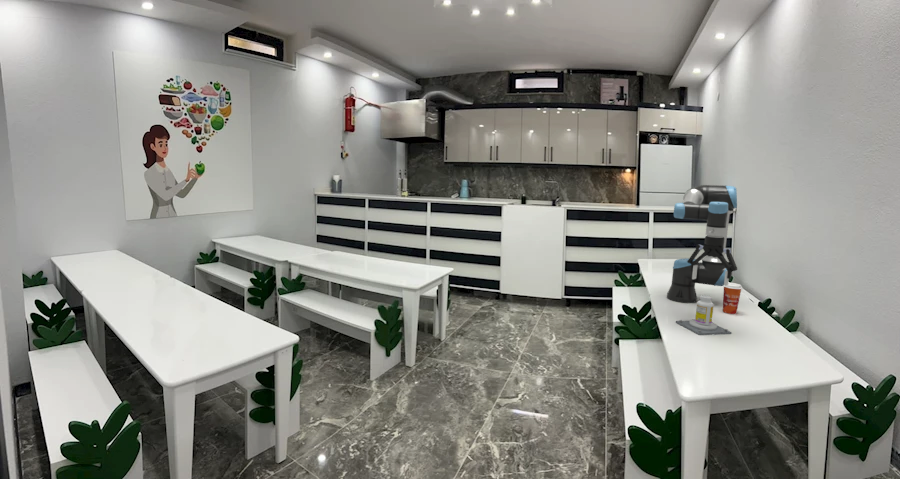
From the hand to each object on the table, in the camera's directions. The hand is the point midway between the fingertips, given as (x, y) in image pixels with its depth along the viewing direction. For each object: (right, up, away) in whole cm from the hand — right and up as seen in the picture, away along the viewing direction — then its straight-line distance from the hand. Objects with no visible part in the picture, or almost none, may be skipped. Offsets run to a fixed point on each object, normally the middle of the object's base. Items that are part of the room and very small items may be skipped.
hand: (709, 282), depth 201 cm
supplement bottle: (-2, -19, +2) cm, 20 cm away
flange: (-2, -22, +2) cm, 22 cm away
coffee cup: (+26, -18, +26) cm, 41 cm away
